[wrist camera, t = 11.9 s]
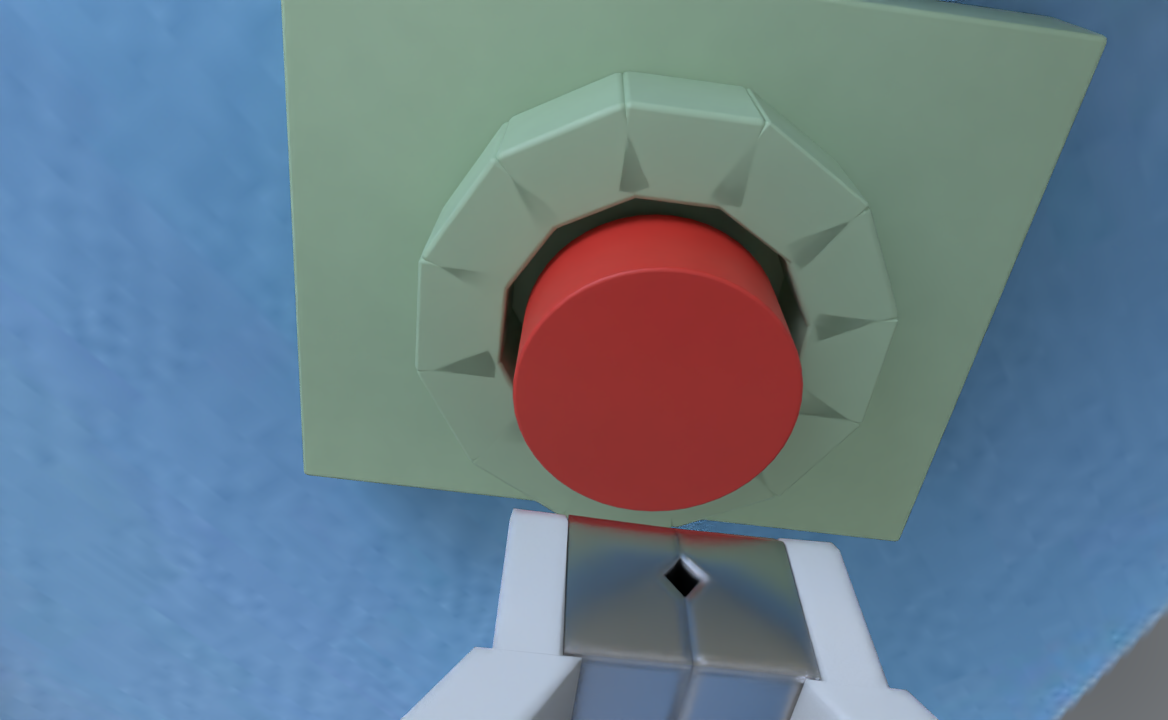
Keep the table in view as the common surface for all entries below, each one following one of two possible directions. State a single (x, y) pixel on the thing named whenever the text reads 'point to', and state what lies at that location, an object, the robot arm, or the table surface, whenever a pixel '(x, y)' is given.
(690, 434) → the button
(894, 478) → the button block
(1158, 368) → the table surface
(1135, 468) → the table surface
